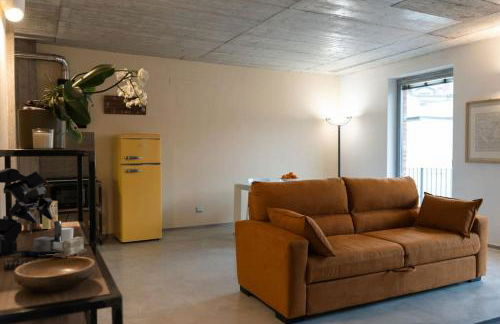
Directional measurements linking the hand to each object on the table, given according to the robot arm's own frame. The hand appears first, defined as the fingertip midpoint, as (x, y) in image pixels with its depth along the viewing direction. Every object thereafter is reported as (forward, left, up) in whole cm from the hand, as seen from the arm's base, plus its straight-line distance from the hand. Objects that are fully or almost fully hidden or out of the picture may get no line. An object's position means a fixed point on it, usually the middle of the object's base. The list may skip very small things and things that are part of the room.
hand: (44, 220), depth 172 cm
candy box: (-39, +49, -14) cm, 64 cm away
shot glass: (-4, +18, -14) cm, 23 cm away
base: (+5, 0, -13) cm, 15 cm away
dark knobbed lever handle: (+4, 0, -11) cm, 12 cm away
